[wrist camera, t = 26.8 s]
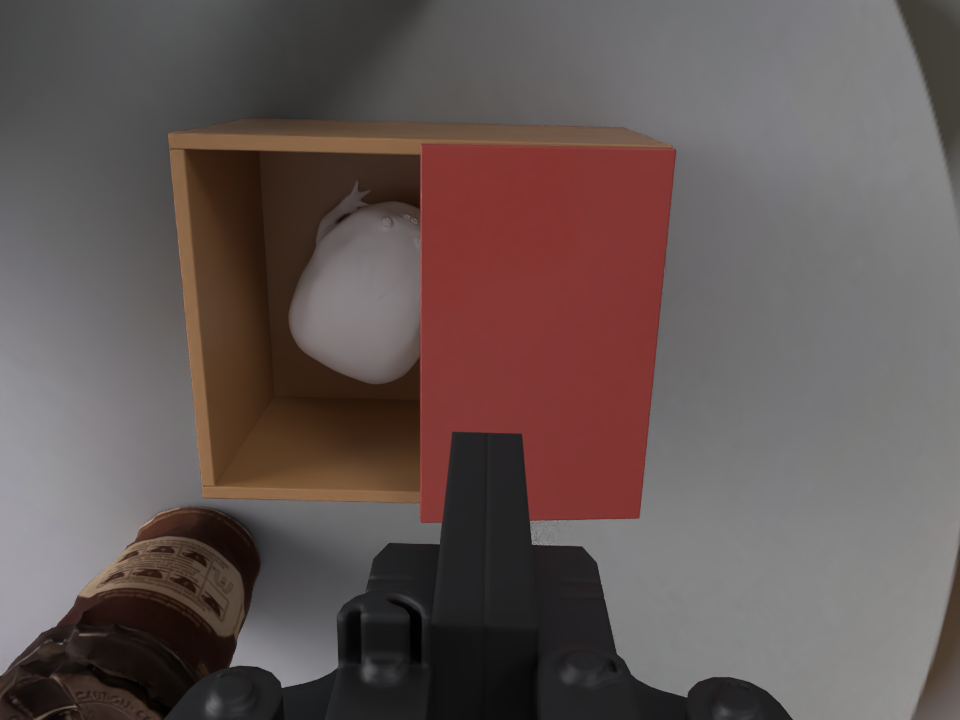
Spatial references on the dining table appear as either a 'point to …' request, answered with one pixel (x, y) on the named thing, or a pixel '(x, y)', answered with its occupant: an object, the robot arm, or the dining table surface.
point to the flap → (543, 315)
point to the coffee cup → (142, 625)
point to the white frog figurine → (362, 291)
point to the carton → (270, 288)
